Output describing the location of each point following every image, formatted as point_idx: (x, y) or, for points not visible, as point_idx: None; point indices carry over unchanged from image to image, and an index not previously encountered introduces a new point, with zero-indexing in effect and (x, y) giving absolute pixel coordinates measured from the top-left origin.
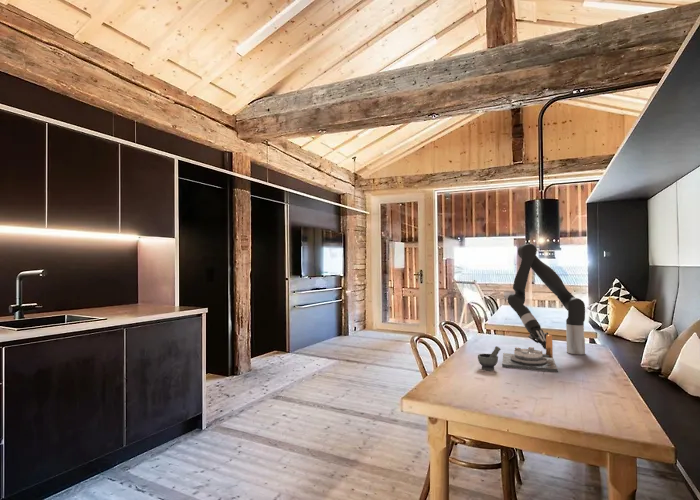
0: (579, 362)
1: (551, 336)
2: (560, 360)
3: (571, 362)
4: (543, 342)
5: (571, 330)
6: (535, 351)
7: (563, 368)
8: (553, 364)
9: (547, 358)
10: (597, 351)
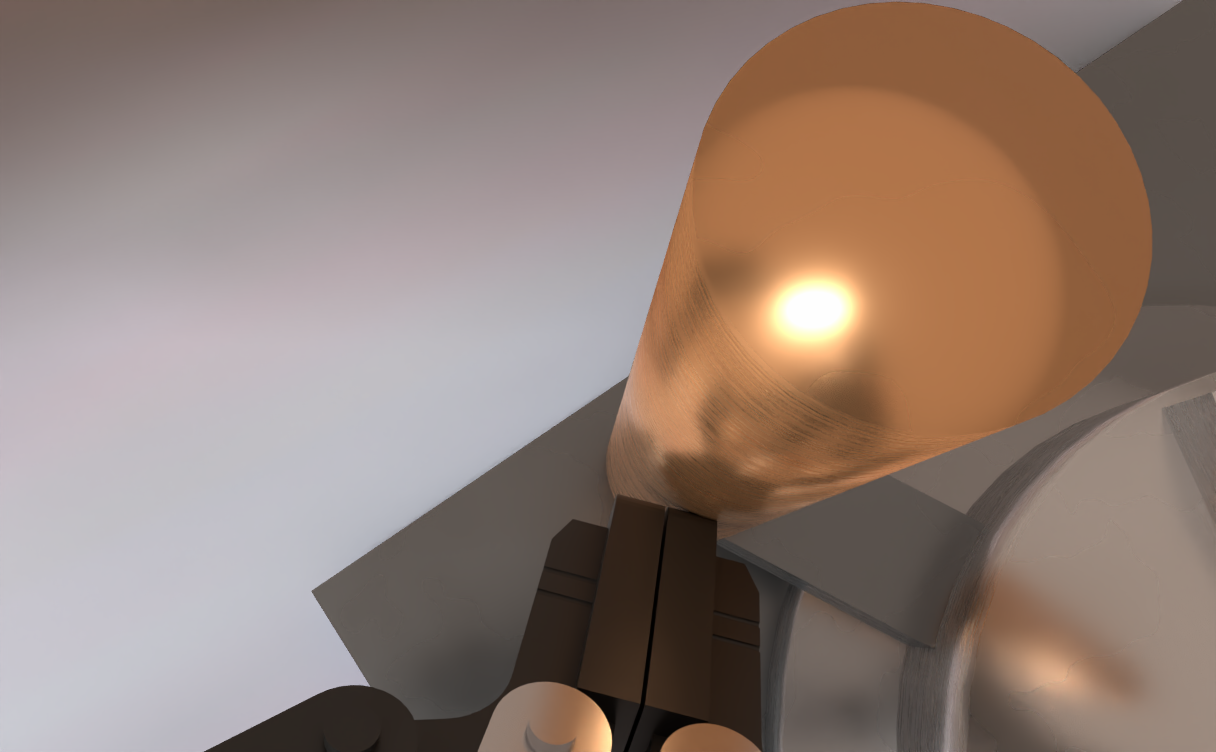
0: (72, 131)
1: (930, 34)
2: (229, 459)
3: (215, 225)
4: (706, 712)
5: None
6: (1164, 672)
7: None
8: None
9: None
10: None
